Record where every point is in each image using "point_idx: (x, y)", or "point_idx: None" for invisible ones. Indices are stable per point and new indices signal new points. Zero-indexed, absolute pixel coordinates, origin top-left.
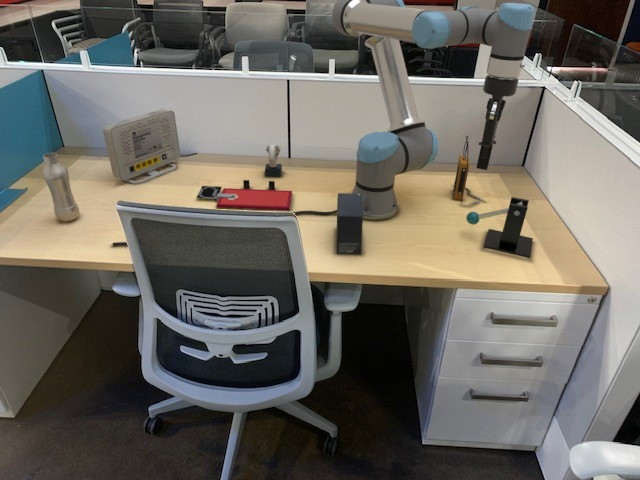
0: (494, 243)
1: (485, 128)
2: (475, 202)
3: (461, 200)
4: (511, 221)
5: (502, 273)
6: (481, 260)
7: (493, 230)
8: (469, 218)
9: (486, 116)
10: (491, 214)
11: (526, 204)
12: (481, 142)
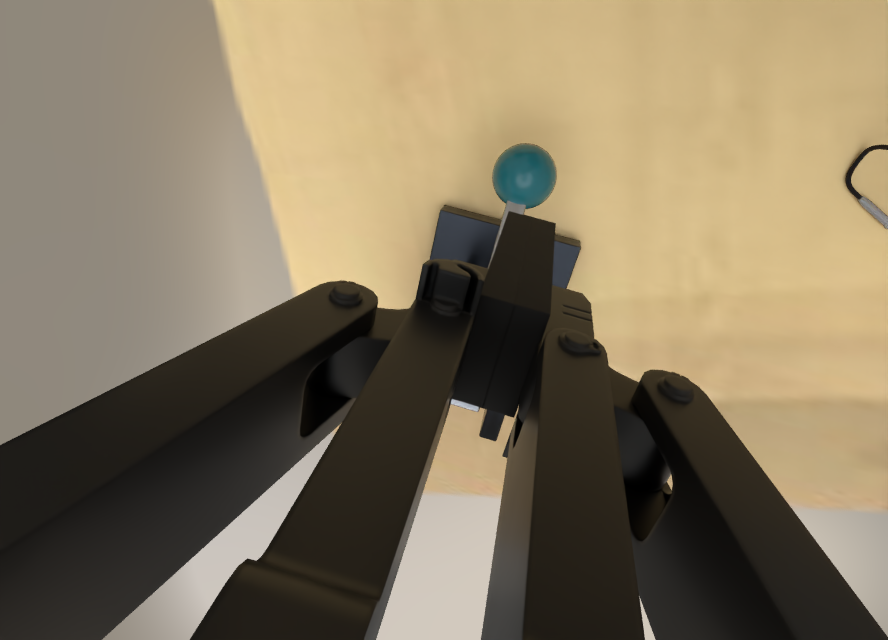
0: (464, 251)
1: (89, 420)
2: (883, 223)
3: (880, 146)
4: None
5: (318, 250)
6: (373, 191)
7: (566, 263)
8: (501, 157)
9: (209, 630)
10: (490, 262)
11: (482, 422)
12: (330, 293)
